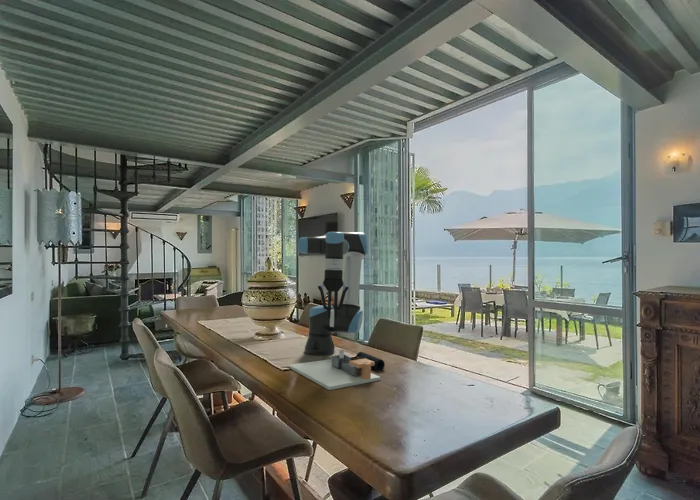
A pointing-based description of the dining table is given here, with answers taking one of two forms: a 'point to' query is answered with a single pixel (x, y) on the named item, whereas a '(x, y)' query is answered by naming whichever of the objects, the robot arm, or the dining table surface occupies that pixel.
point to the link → (346, 365)
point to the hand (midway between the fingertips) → (331, 326)
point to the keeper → (363, 366)
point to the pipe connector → (378, 362)
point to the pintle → (341, 354)
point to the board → (329, 374)
